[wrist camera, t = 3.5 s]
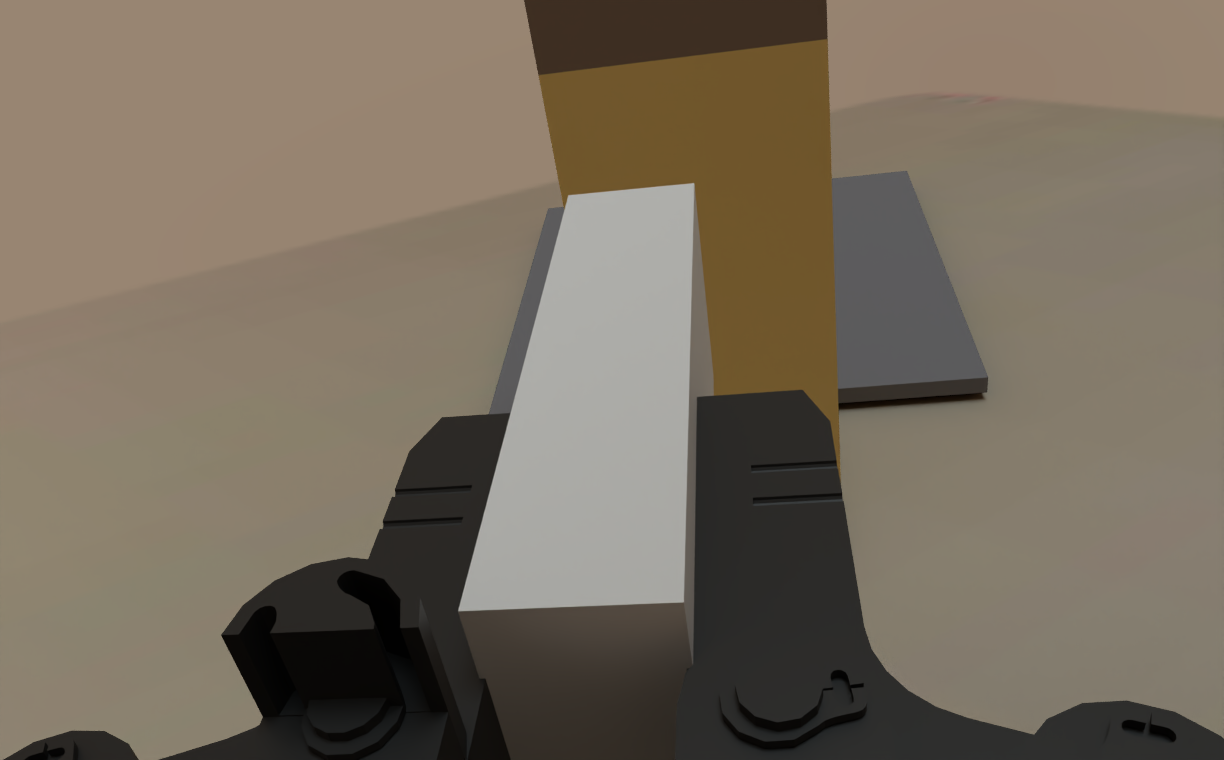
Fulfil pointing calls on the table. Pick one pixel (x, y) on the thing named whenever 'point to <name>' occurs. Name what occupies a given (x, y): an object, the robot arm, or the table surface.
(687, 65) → the ochre post
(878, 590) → the table surface
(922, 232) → the charcoal mat
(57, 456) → the table surface
